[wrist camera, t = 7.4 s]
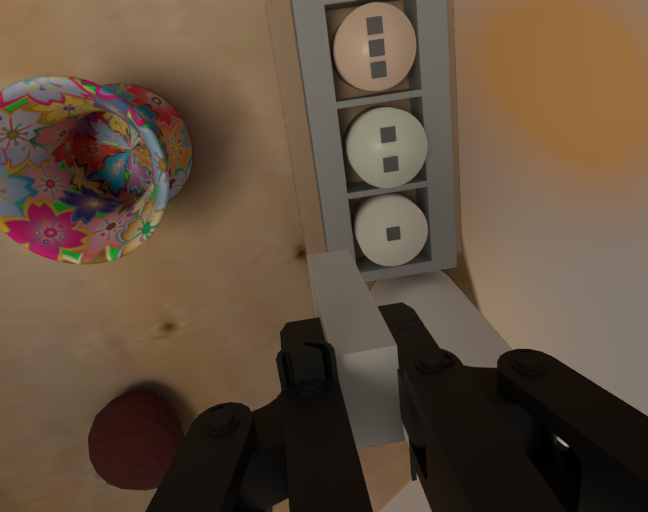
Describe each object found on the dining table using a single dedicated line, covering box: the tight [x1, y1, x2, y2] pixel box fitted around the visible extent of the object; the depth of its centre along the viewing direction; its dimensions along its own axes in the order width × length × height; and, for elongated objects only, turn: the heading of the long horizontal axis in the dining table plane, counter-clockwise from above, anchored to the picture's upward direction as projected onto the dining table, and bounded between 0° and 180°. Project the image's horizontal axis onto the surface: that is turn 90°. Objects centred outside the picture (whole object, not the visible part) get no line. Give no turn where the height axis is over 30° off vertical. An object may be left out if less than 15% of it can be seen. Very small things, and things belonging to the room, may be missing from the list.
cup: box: [370, 270, 567, 447], centre depth 32 cm, size 8×8×16 cm
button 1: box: [351, 191, 428, 266], centre depth 33 cm, size 5×5×3 cm
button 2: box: [343, 106, 428, 188], centre depth 30 cm, size 5×5×3 cm
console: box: [266, 0, 462, 282], centre depth 32 cm, size 12×19×4 cm, turn 8°
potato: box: [88, 390, 184, 490], centre depth 38 cm, size 7×8×6 cm
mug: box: [0, 75, 192, 264], centre depth 28 cm, size 12×9×11 cm
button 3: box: [330, 2, 416, 91], centre depth 29 cm, size 5×5×3 cm
